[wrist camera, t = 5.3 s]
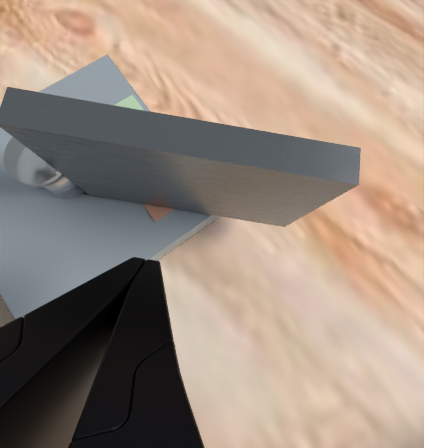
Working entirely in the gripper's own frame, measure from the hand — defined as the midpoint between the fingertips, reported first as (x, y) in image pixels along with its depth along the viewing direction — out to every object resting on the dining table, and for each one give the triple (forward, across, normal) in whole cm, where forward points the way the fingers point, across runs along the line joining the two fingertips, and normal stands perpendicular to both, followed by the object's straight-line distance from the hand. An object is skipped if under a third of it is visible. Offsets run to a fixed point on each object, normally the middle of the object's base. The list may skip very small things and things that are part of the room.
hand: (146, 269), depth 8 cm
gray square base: (+9, -6, -3) cm, 11 cm away
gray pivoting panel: (+7, -1, -1) cm, 7 cm away
